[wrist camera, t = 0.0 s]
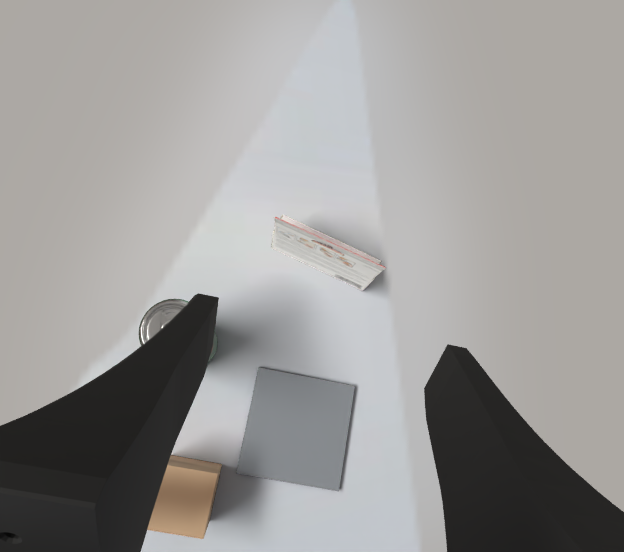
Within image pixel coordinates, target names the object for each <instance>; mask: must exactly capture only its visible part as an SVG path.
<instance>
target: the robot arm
mask: <svg viewBox="0 0 624 552" xmlns="http://www.w3.org/2000/svg"><path fill="white" fill-rule="evenodd" d="M218 299H219V298H218V297H213V296H208V295H203V294H197V295H195V296H194V297H193V298H192V299H191V300H190V301H189V303H188V304H187V305H186V306H185V307H184V308H183V309H182V310H181V311H180V312H179V313H178V314H177V315H176V316H175V317H174V318H173V319H172V320H171V321H170V322H169V323H167V324H166V325H165V326H164V327H163V328H162V329H161V330H160V331H159V332H158V333H156V334H155V335H154V336H153V337H152V338H151V339H149V340H148V341H147V342H146V343H144V344H143V345H142V346H141V347H139V348H138V349H137V350H136V351H135V352H133V353H132V354H131V355H129V356H128V357H127V358H125V359H124V360H122V361H121V362H120V363H118V364H117V365H115V366H114V367H112V368H111V369H109V370H108V371H106V372H105V373H103V374H102V375H100V376H99V377H97V378H95V379H94V380H92V381H90V382H89V383H87V384H85V385H84V386H82V387H80V388H79V389H77V390H75V391H73V392H72V393H70V394H68V395H66V396H64V397H62V398H60V399H58V400H56V401H54V402H52V403H50V404H48V405H46V406H44V407H43V408H40V409H38V410H37V411H34V412H32V413H30V414H28V415H26V416H23V417H21V418H19V419H16V420H14V421H11V422H9V423H6V424H4V425H1V426H0V552H140V551H141V548H142V545H143V542H144V538H145V535H146V532H147V528H148V525H149V522H150V518H151V515H152V512H153V509H154V506H155V503H156V499H157V496H158V493H159V490H160V487H161V483H162V480H163V477H164V474H165V471H166V468H167V465H168V462H169V459H170V456H171V453H172V450H173V448H174V445H175V442H176V440H177V437H178V435H179V433H180V430H181V428H182V426H183V424H184V421H185V419H186V417H187V414H188V412H189V410H190V407H191V405H192V403H193V400H194V398H195V396H196V393H197V391H198V389H199V386H200V384H201V382H202V379H203V377H204V374H205V371H206V368H207V364H208V361H209V358H210V354H211V351H212V347H213V340H214V332H215V324H216V315H217V307H218ZM424 389H425V408H426V420H427V425H428V430H429V435H430V440H431V445H432V450H433V455H434V460H435V464H436V469H437V474H438V478H439V484H440V489H441V495H442V501H443V510H444V519H445V529H446V540H447V552H624V512H623V511H621V510H620V509H619V508H618V507H616V506H615V505H614V504H612V503H611V502H610V501H609V500H607V499H606V498H605V497H604V496H603V495H601V494H600V493H599V492H598V491H596V490H595V489H594V488H593V487H592V486H591V485H590V484H589V483H587V482H586V481H585V480H584V479H583V478H582V477H581V476H579V475H578V474H577V473H576V472H575V471H574V470H572V468H570V467H569V466H568V465H567V464H566V463H565V462H564V461H563V460H562V459H561V458H560V457H559V456H558V455H557V454H556V453H555V452H554V451H553V450H552V449H551V448H550V447H549V446H548V445H547V444H546V443H545V442H544V441H543V440H542V439H541V438H540V437H539V436H538V435H537V434H536V433H535V432H534V430H533V429H532V428H531V427H530V426H529V425H528V424H527V422H526V421H525V420H524V419H523V418H522V417H521V416H520V415H519V413H518V412H517V411H516V410H515V409H514V407H513V406H512V405H511V404H510V403H509V401H508V400H507V399H506V398H505V397H504V395H503V394H502V393H501V392H500V390H499V389H498V388H497V386H496V385H495V384H494V382H493V381H492V380H491V379H490V378H489V376H488V375H487V373H486V372H485V371H484V370H483V368H482V367H481V366H480V364H479V363H478V362H477V361H476V359H475V358H474V357H473V356H472V354H471V353H470V352H469V351H468V350H467V348H462V347H457V346H452V345H447V347H446V349H445V351H444V352H443V354H442V356H441V358H440V360H439V362H438V364H437V366H436V367H435V369H434V371H433V373H432V375H431V377H430V379H429V380H428V382H427V384H426V386H425V388H424Z"/></svg>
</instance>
